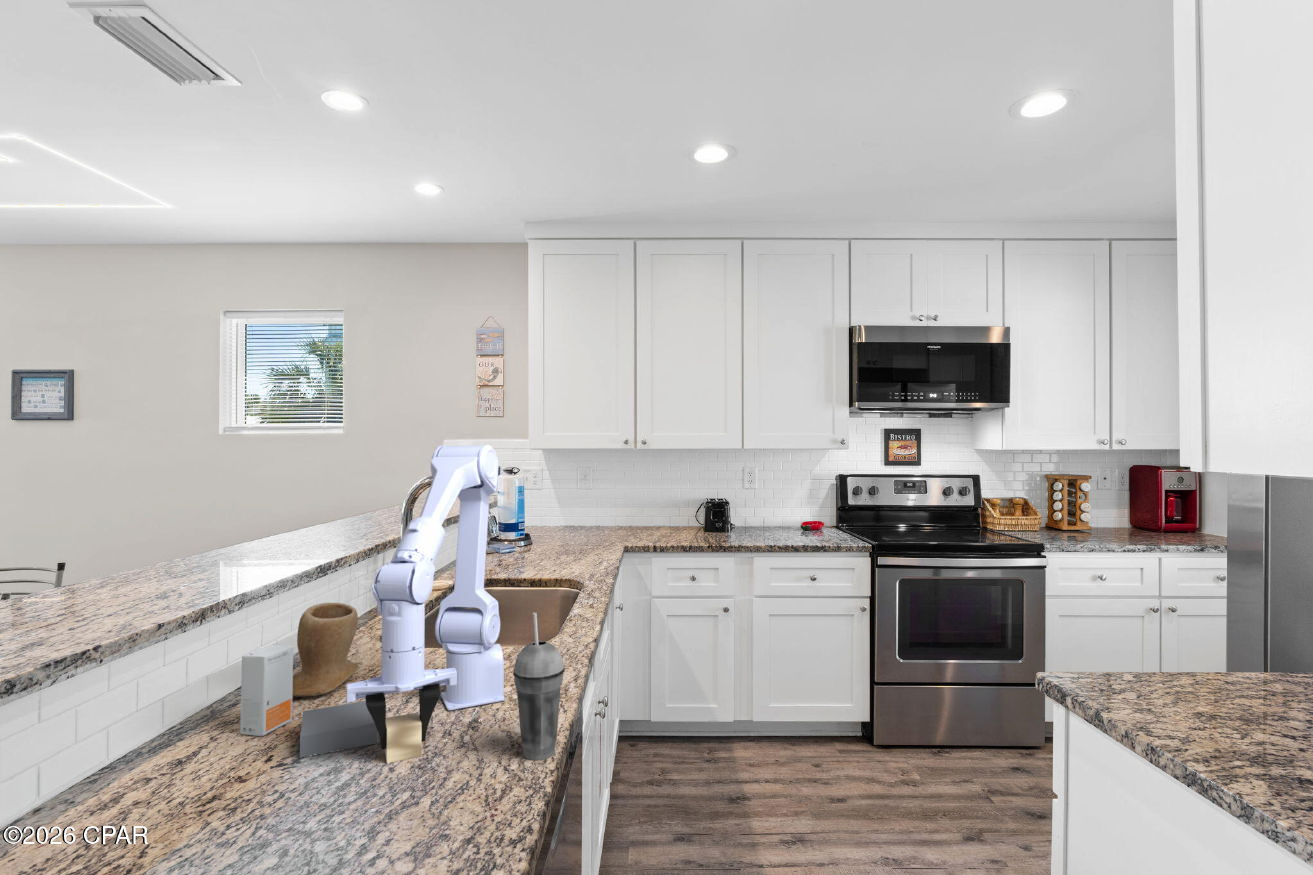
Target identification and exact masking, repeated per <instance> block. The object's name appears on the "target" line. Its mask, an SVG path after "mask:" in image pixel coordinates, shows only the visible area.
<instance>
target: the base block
mask: <svg viewBox="0 0 1313 875" xmlns="http://www.w3.org/2000/svg"><path fill="white" fill-rule="evenodd" d="M301 718H302V719H301V723H300V724H301V726H300V732H299V759H303V758H302V757H304V758H306V757H305V756H309V757H311V756H310V755H314V754H320V755H322V754H321V753H325V754H327V753H326V752H330V753H332V752H331V751H335V752H338V751H337V750H340V751H343V750H342V749H345V750H350V749H355V748H360V747H364V746H365V747H366V746H370V745H375V744H379V743H378V741H379V738H378V737H379V734H378V731H377V728H376V725H375V723H374V720H373V718H372V716H371V715H370V713H369V711H368V709H367V706H366V700H364V701H359V702H357V701H356V702H349V703H345V704H340V705H333V706H327V707H320V708H315V709H310V710H304V711H303V710H302V717H301ZM314 756H315V755H314Z"/></svg>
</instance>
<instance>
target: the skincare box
mask: <svg viewBox="0 0 1313 875" xmlns="http://www.w3.org/2000/svg"><path fill="white" fill-rule="evenodd" d="M293 676H294V646H293V645H279V644H271V645H268V646H266V647H263V648H258V649H256V650H255V651H252V652H249V653H247V654H244V655H242V656H241V683H240V687H241V688H240V690H241V691H240V719H239V720H240V722H239V724H240V726H239V727H240V728H239V729H240V731H239V734H240V735H245V736H256V737H264V736H266V735H267V734H269V733H271V732H272V731H275V730H277V729H279V728H280V727H282V726H284V725H286V724H289V723H291V722H292V721H293V696H292V690H293Z"/></svg>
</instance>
